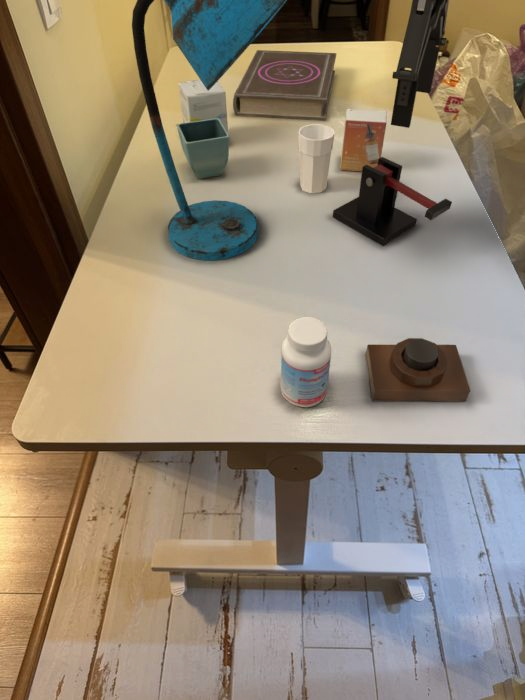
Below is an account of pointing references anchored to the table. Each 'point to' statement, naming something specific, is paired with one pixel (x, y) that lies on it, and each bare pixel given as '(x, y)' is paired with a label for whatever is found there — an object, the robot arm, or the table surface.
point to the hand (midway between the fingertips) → (411, 107)
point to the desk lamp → (210, 65)
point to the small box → (362, 139)
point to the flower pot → (205, 146)
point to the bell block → (415, 375)
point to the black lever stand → (376, 206)
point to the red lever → (416, 195)
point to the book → (286, 85)
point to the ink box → (202, 102)
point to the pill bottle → (305, 362)
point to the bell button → (420, 355)
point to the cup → (315, 156)
